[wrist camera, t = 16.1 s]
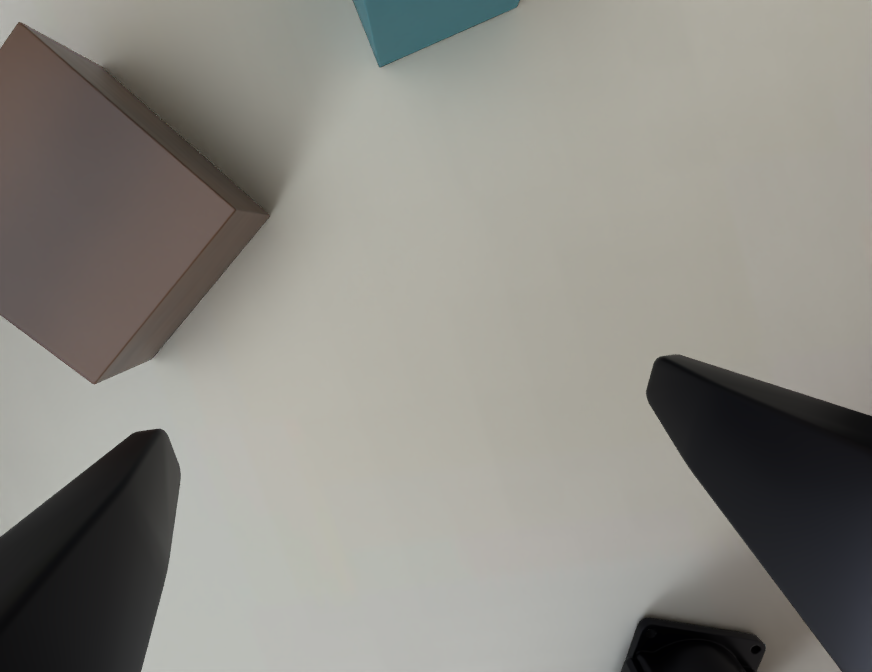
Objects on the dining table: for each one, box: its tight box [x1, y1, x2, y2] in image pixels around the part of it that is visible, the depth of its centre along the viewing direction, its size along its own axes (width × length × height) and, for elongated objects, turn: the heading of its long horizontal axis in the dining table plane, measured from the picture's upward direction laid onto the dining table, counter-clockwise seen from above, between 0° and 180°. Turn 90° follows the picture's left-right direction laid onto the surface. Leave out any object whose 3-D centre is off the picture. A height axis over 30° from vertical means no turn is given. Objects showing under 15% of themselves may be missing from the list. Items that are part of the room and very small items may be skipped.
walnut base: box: [0, 22, 270, 384], centre depth 16 cm, size 8×8×4 cm
